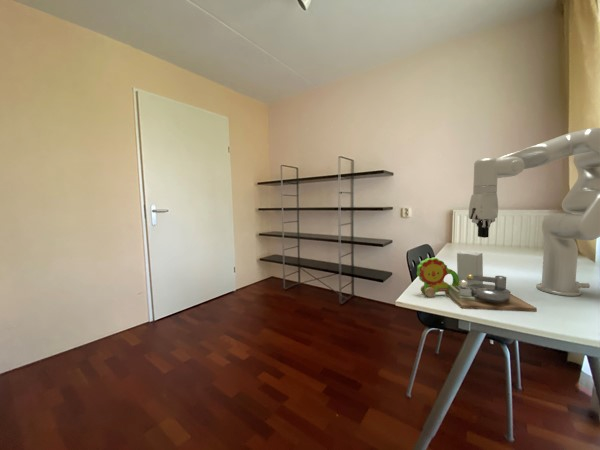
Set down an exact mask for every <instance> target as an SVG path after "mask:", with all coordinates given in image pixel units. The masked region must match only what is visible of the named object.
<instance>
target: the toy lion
mask: <svg viewBox="0 0 600 450" xmlns="http://www.w3.org/2000/svg"><path fill="white" fill-rule="evenodd" d="M416 270H417V271H416V276H417V277H419V280H420V281H421V282H422V283H423V285H422V286H420V291H421V293H422V294H424V295H425V296H427V297H429V298H433V297H435V296H436V293H441V292H444V293H445V292H448V293H449V286H453V287H455V286H459V277H458V275H457V271H455V270H453V269H450V268H449V267H448V265H446V264H445V262H444V261H443V260H440V259H439V258H437V257H434V256H433V257H431V258H430V257H429V258H428V257H427V258H425V259H424V260H421V261H420V263H419V264H417V267H416ZM448 275H451V277H452V283H451V284H449V283H447V282H446V281H444V279H445V277H446V276H448Z"/></svg>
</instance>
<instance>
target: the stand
mask: <svg viewBox="0 0 600 450" xmlns="http://www.w3.org/2000/svg"><path fill="white" fill-rule="evenodd" d="M444 294H445V295H446V296H448V298H450V299H451V300H452V301H453V302H454V303H455V304H456V305H457V306H458V307H460V308H461V309H465V310H466V309H467V310H469V309H471V310H488V311H489V310H492V311H516V312H518V311H519V312H537V307H535V306H534V305H532V304H530V303H528V302H527V301H526V300H525V301H524V300H523V299H521V298H519V297H517V296H516V295H514V294H513V293H510V300H509V301H506V302H494V301H488V300H483V299H479V298H476V297H474V296H472V295H471V297H466V296H460V291H459V290H457V289H456V288H455V287H453V286H449V293H448V292H444Z"/></svg>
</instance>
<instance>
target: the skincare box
mask: <svg viewBox="0 0 600 450" xmlns="http://www.w3.org/2000/svg"><path fill="white" fill-rule="evenodd" d="M456 265H457V266H456V267H457V268H456V269H457V271H456V273H457V275H458V277H459V281H460V280H466V281H467V282H468V286H467V287H468V288H470V285H472V284H484V281H476V280H468V279H467V275H468V274H471V275H476V276H484V274H483V273H484V272H483V271H484V269H483V268H484V265H483V252H475V251H466V250H465V251H464V250H462V251H458V252H457V253H456Z"/></svg>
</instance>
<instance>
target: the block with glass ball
mask: <svg viewBox="0 0 600 450" xmlns="http://www.w3.org/2000/svg"><path fill="white" fill-rule="evenodd" d="M455 288H456V289H457V290H459V291H460V296H466V297H471V295H472V290H471V289H470V287H468V282H467V281H466V280H460V281H459V286H455Z"/></svg>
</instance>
